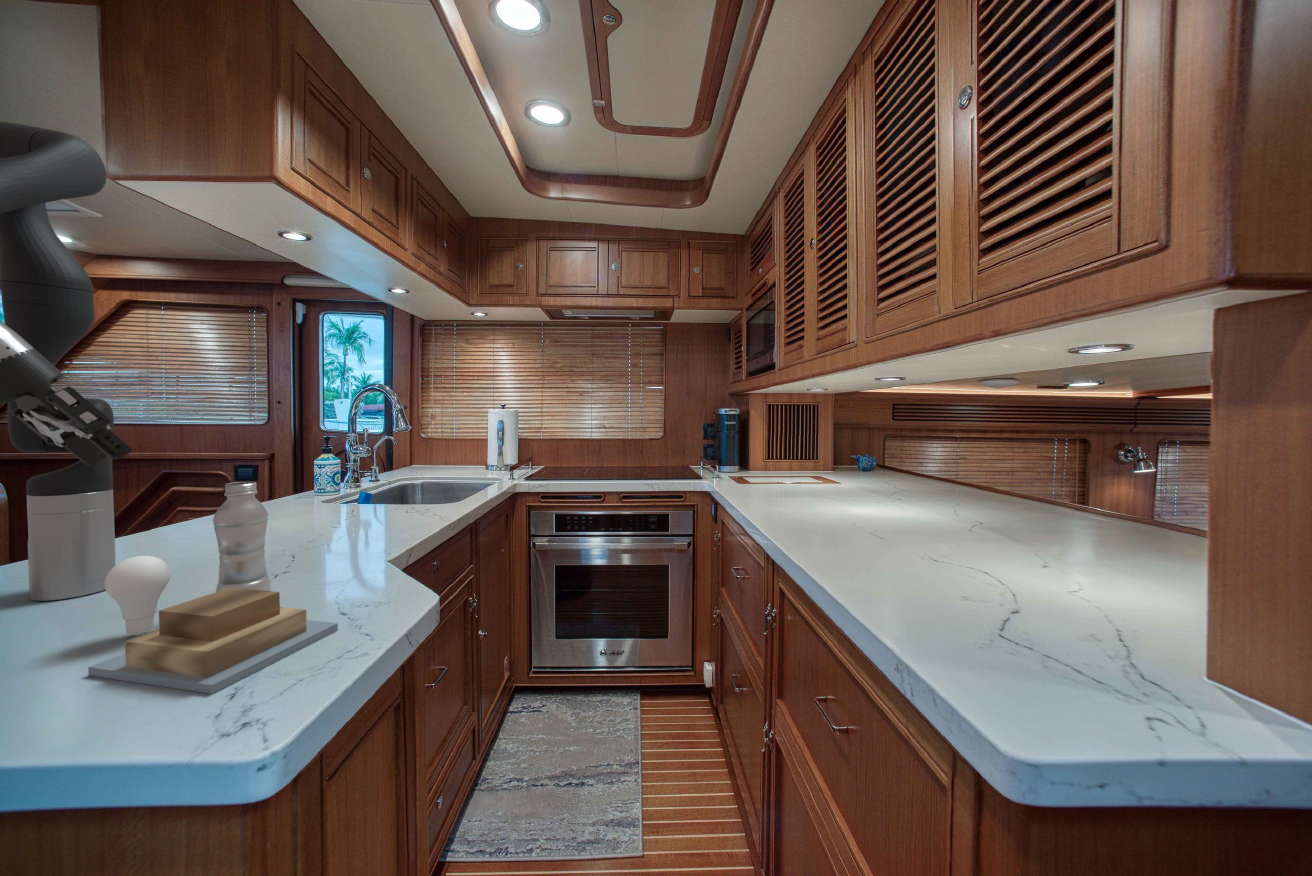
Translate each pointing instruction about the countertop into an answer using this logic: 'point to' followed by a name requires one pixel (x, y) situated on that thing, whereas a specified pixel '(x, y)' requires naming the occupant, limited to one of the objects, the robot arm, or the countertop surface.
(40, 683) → the countertop surface
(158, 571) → the lightbulb
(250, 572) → the plastic bottle
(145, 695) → the countertop surface
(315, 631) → the slate board
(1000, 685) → the countertop surface
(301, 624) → the block tower
